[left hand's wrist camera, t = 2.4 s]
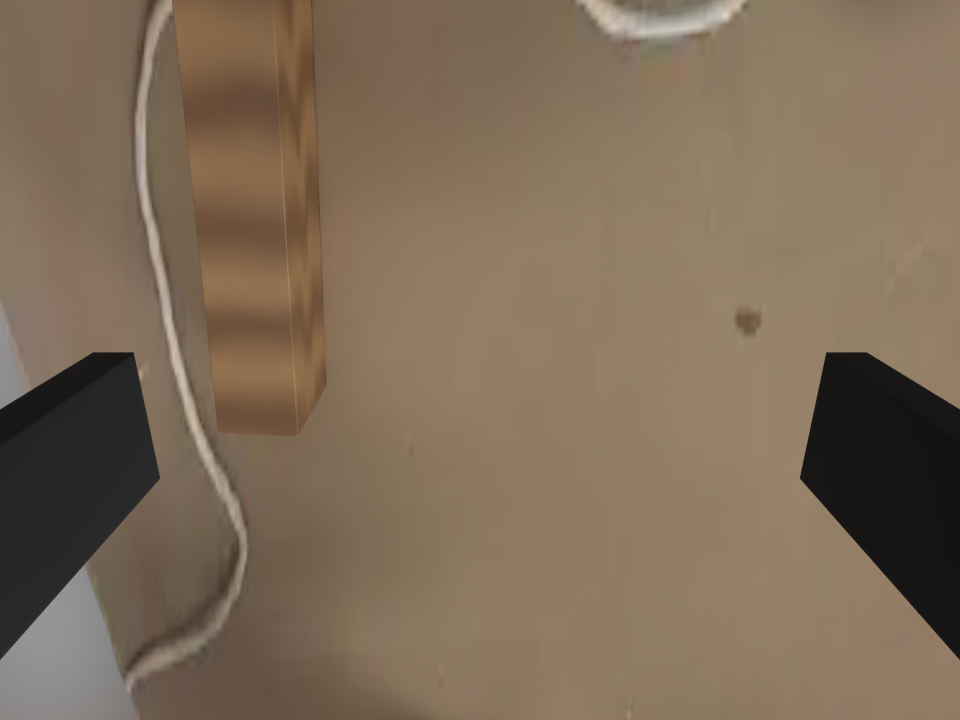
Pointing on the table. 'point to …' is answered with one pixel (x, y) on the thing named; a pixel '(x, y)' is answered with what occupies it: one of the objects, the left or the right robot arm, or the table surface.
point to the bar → (256, 205)
